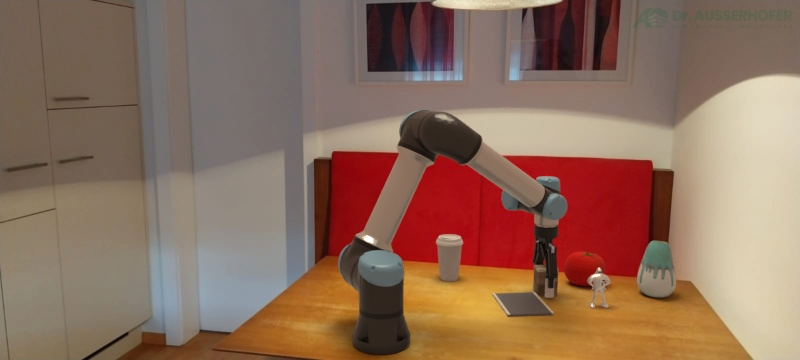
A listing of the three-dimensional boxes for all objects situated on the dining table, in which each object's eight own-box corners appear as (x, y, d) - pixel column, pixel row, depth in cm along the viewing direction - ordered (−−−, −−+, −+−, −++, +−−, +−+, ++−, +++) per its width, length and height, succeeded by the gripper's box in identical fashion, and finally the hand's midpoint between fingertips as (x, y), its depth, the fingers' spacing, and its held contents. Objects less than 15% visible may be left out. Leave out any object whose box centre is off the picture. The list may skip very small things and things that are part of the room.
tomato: (560, 277, 208) (561, 246, 206) (600, 278, 207) (602, 247, 205) (566, 289, 196) (568, 256, 194) (609, 290, 195) (611, 257, 193)
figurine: (588, 308, 179) (590, 270, 177) (583, 303, 183) (585, 266, 181) (611, 308, 179) (613, 270, 178) (606, 303, 184) (608, 265, 182)
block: (557, 295, 190) (558, 268, 189) (537, 296, 189) (538, 269, 188) (552, 290, 194) (553, 264, 193) (532, 291, 194) (533, 265, 192)
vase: (650, 286, 199) (654, 234, 196) (682, 296, 190) (686, 242, 187) (628, 292, 193) (632, 239, 190) (660, 303, 183) (664, 247, 181)
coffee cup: (430, 276, 209) (430, 235, 207) (453, 272, 213) (453, 232, 211) (444, 284, 201) (445, 241, 198) (468, 280, 205) (468, 238, 203)
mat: (554, 314, 174) (554, 312, 174) (507, 316, 173) (507, 314, 172) (534, 293, 192) (534, 291, 191) (492, 295, 190) (492, 293, 190)
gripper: (571, 233, 178) (567, 303, 181) (545, 216, 200) (543, 280, 203) (546, 233, 177) (543, 304, 180) (524, 217, 199) (522, 280, 202)
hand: (543, 291), depth 192 cm, fingers open, 10 cm apart
